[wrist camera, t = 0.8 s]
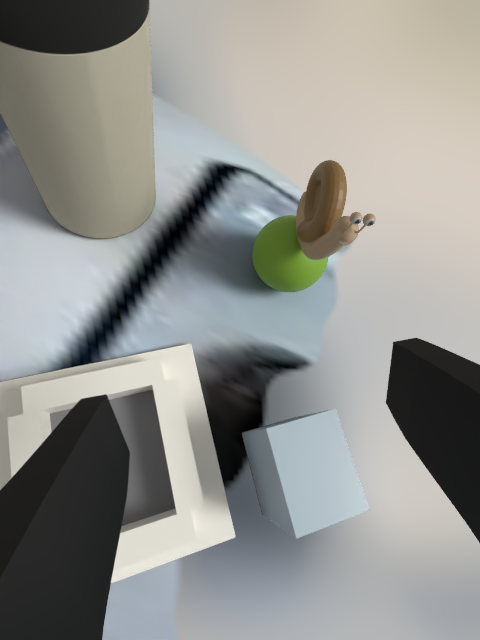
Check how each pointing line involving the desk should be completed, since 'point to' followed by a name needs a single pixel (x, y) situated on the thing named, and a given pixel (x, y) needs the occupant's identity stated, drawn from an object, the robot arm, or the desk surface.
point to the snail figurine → (307, 233)
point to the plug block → (304, 473)
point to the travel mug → (82, 108)
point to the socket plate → (135, 448)
